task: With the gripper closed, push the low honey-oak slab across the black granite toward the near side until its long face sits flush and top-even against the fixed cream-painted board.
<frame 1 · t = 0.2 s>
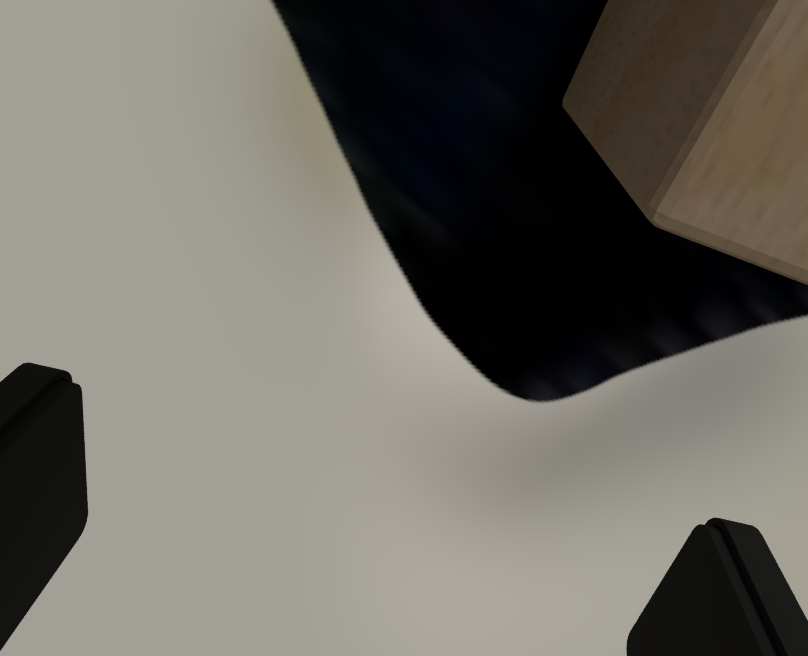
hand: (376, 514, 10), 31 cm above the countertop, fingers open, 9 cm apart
wooden block: (684, 47, 34), on the countertop
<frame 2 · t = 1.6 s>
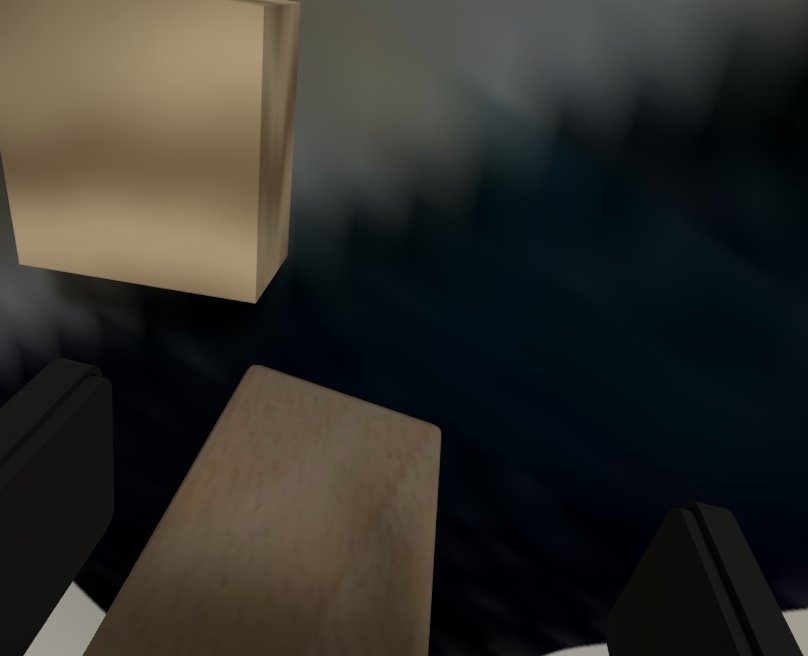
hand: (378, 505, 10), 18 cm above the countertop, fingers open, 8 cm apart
wooden block: (322, 461, 33), on the countertop
oak block: (185, 122, 26), on the countertop
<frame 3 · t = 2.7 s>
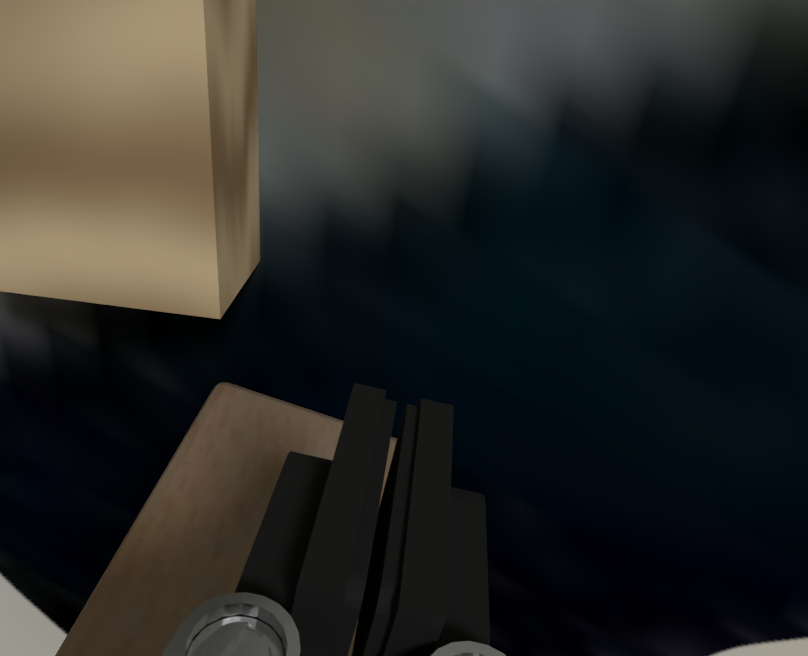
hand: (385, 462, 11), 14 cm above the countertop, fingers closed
wooden block: (299, 483, 31), on the countertop
oak block: (135, 114, 23), on the countertop
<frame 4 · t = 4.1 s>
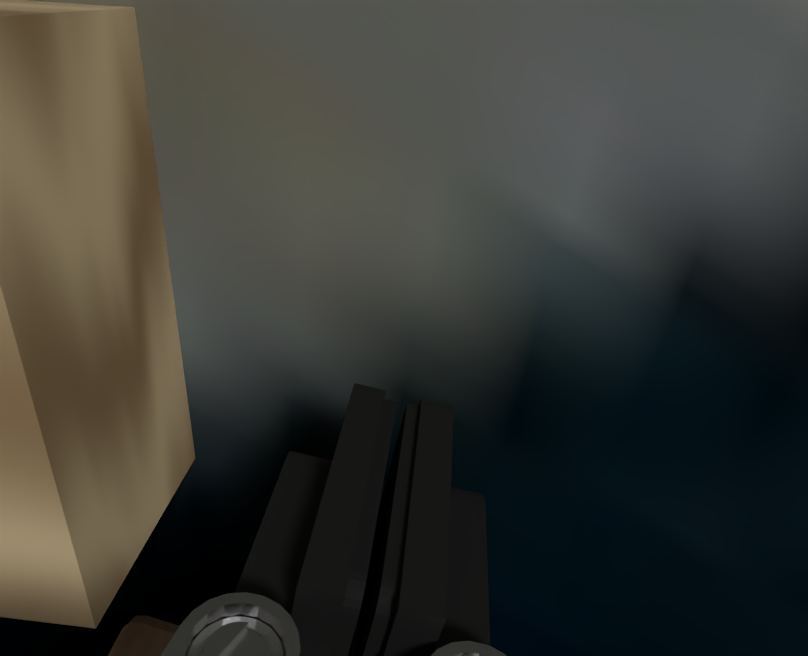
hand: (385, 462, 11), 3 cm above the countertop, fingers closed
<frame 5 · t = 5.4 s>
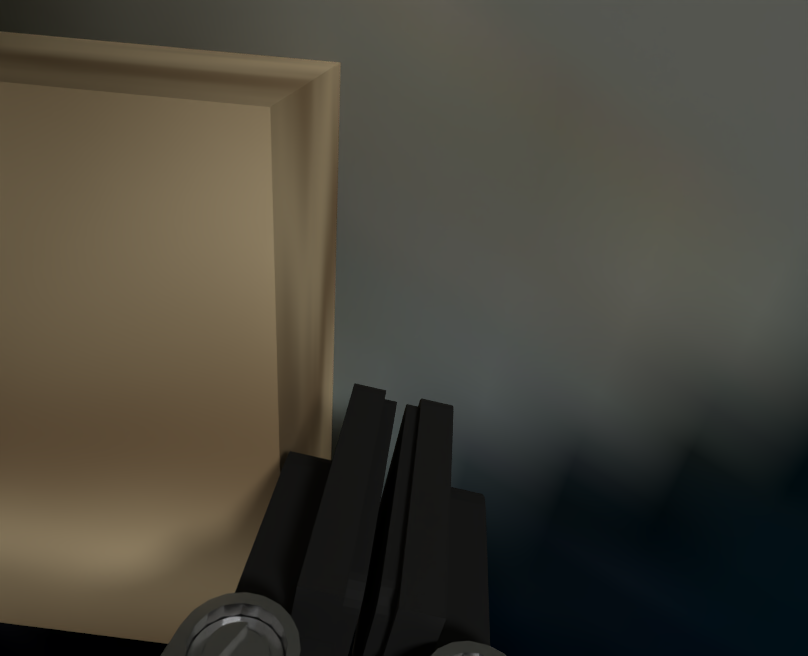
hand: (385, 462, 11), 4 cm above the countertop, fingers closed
oak block: (137, 283, 14), on the countertop, touching gripper
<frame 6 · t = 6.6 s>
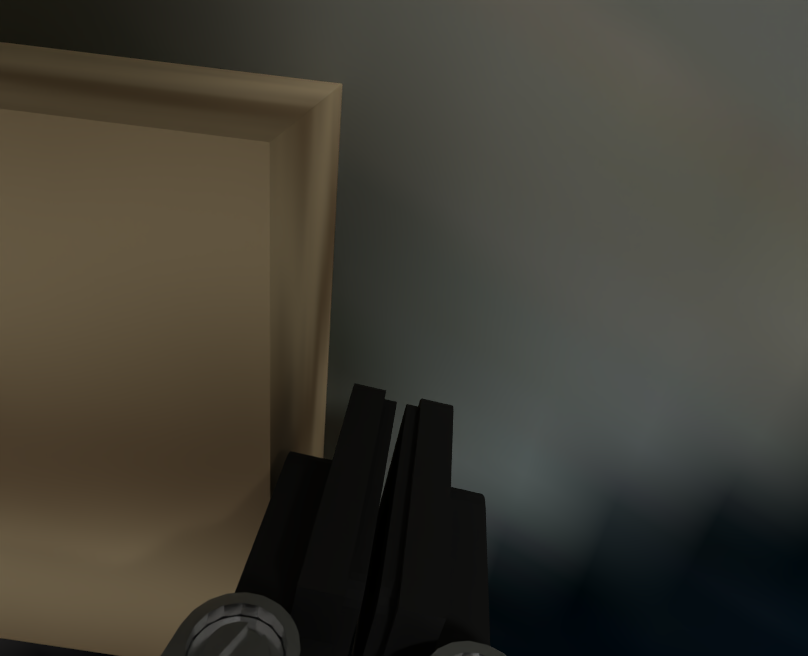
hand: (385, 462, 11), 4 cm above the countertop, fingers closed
oak block: (131, 295, 14), on the countertop
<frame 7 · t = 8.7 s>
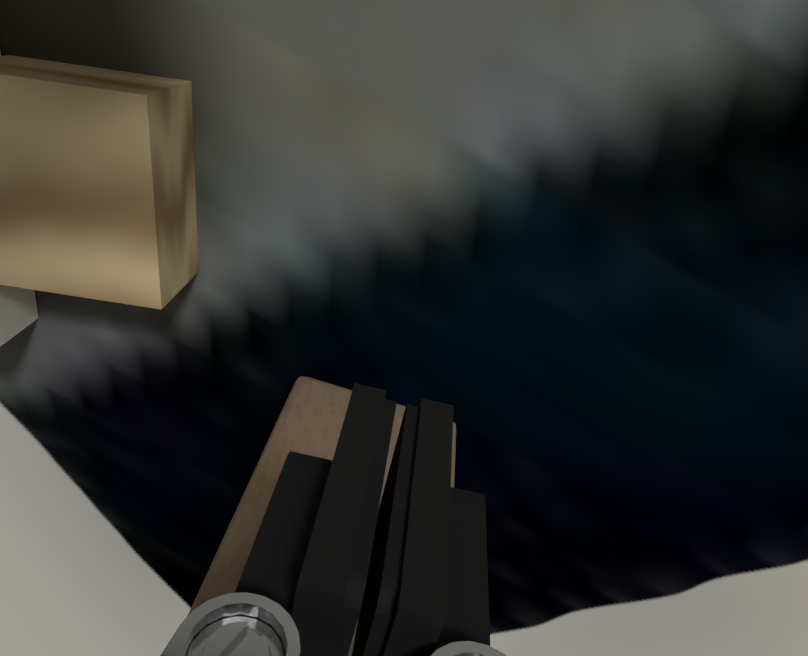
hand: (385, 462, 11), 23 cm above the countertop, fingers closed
wooden block: (359, 454, 40), on the countertop
oak block: (112, 169, 33), on the countertop
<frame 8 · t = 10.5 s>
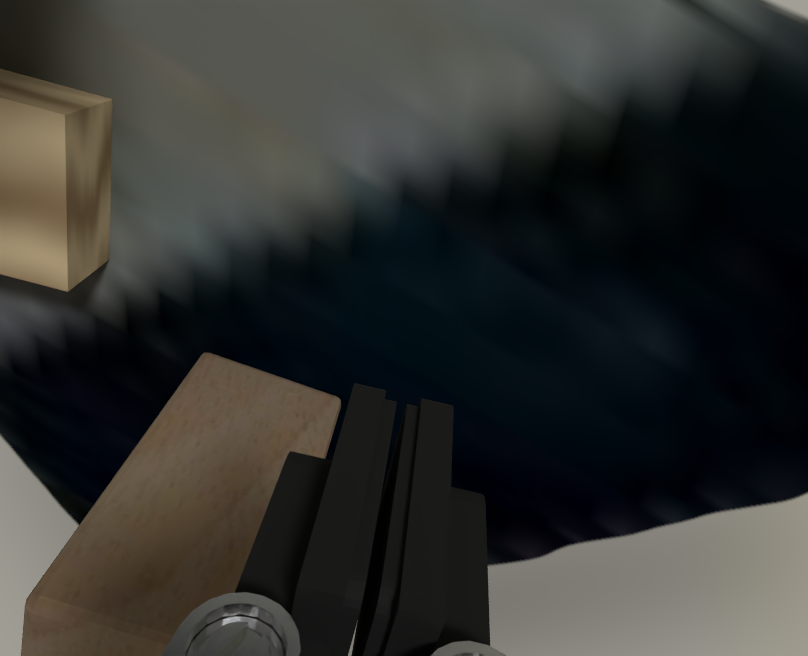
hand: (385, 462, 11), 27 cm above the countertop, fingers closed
wooden block: (259, 424, 46), on the countertop
oak block: (38, 163, 38), on the countertop
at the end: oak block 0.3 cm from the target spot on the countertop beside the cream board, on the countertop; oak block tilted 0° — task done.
